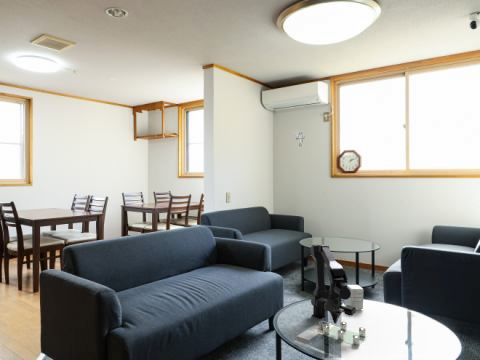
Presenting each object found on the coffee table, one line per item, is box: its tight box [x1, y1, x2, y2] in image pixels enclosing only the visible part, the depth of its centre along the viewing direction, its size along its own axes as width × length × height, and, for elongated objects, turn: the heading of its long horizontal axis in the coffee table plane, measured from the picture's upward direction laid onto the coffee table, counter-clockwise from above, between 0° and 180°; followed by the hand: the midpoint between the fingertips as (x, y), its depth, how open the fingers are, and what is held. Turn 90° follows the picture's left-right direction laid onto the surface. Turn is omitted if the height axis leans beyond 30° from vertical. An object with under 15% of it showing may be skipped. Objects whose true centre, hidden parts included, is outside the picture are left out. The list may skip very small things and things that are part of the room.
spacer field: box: [323, 321, 366, 347], centre depth 166 cm, size 18×13×4 cm
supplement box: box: [345, 284, 364, 311], centre depth 202 cm, size 7×7×13 cm
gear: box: [318, 320, 330, 331], centre depth 172 cm, size 6×6×3 cm
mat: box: [313, 323, 368, 346], centre depth 167 cm, size 22×13×1 cm, turn 50°
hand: (335, 323), depth 169 cm, fingers closed
